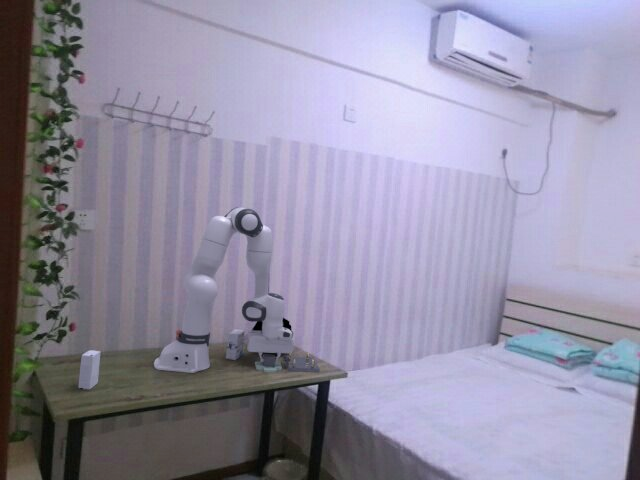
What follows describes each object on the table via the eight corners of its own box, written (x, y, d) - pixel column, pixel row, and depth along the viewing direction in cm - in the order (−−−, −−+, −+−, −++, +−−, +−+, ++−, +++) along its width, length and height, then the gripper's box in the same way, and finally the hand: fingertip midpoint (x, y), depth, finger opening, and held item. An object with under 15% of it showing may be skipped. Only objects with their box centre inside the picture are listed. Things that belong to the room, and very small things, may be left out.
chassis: (287, 371, 211) (289, 360, 210) (282, 359, 225) (283, 349, 225) (319, 372, 214) (320, 361, 214) (312, 360, 228) (313, 351, 228)
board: (257, 371, 206) (258, 360, 205) (254, 361, 218) (255, 350, 218) (282, 372, 208) (284, 361, 208) (278, 362, 221) (279, 351, 220)
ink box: (232, 353, 226) (235, 328, 225) (242, 355, 225) (245, 330, 224) (225, 358, 218) (227, 332, 217) (235, 360, 217) (238, 334, 216)
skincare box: (86, 382, 175) (88, 349, 174) (98, 383, 175) (101, 350, 174) (77, 388, 169) (80, 354, 168) (90, 390, 169) (93, 356, 168)
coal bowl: (248, 344, 243) (252, 306, 242) (288, 346, 247) (292, 309, 246) (250, 357, 224) (254, 316, 223) (293, 359, 228) (298, 319, 226)
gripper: (248, 331, 207) (245, 363, 207) (296, 334, 211) (292, 365, 212) (247, 327, 213) (244, 358, 214) (293, 330, 217) (290, 360, 218)
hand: (268, 362), depth 213 cm, fingers closed on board, 4 cm apart
